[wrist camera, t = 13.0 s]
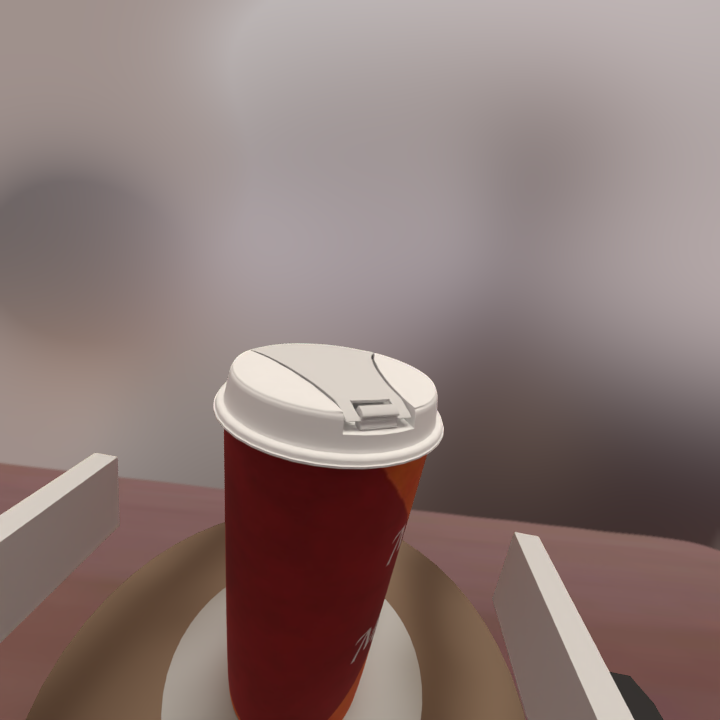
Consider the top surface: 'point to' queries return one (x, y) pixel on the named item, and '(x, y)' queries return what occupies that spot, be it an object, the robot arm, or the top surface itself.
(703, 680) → the top surface
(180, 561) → the disc
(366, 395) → the paper cup
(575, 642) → the robot arm
